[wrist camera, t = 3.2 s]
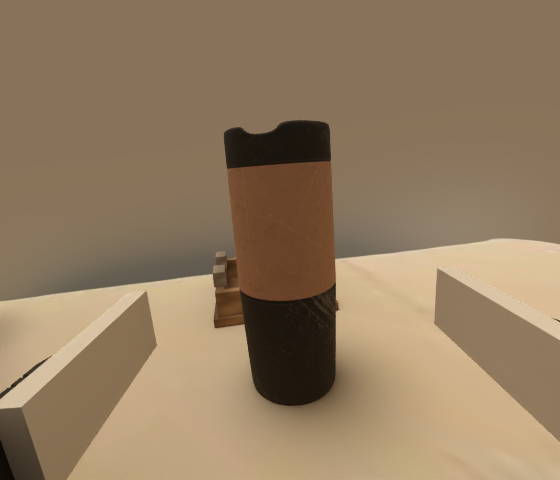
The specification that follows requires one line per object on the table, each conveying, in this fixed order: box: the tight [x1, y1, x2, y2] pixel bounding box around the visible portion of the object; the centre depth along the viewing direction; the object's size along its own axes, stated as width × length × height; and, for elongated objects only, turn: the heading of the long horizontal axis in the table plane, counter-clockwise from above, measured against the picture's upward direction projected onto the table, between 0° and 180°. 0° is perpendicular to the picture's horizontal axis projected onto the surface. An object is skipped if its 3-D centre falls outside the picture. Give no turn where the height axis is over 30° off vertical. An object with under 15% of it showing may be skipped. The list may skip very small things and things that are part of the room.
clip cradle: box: [213, 251, 338, 328], centre depth 41 cm, size 15×15×6 cm
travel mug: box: [224, 120, 336, 405], centre depth 23 cm, size 8×8×20 cm
